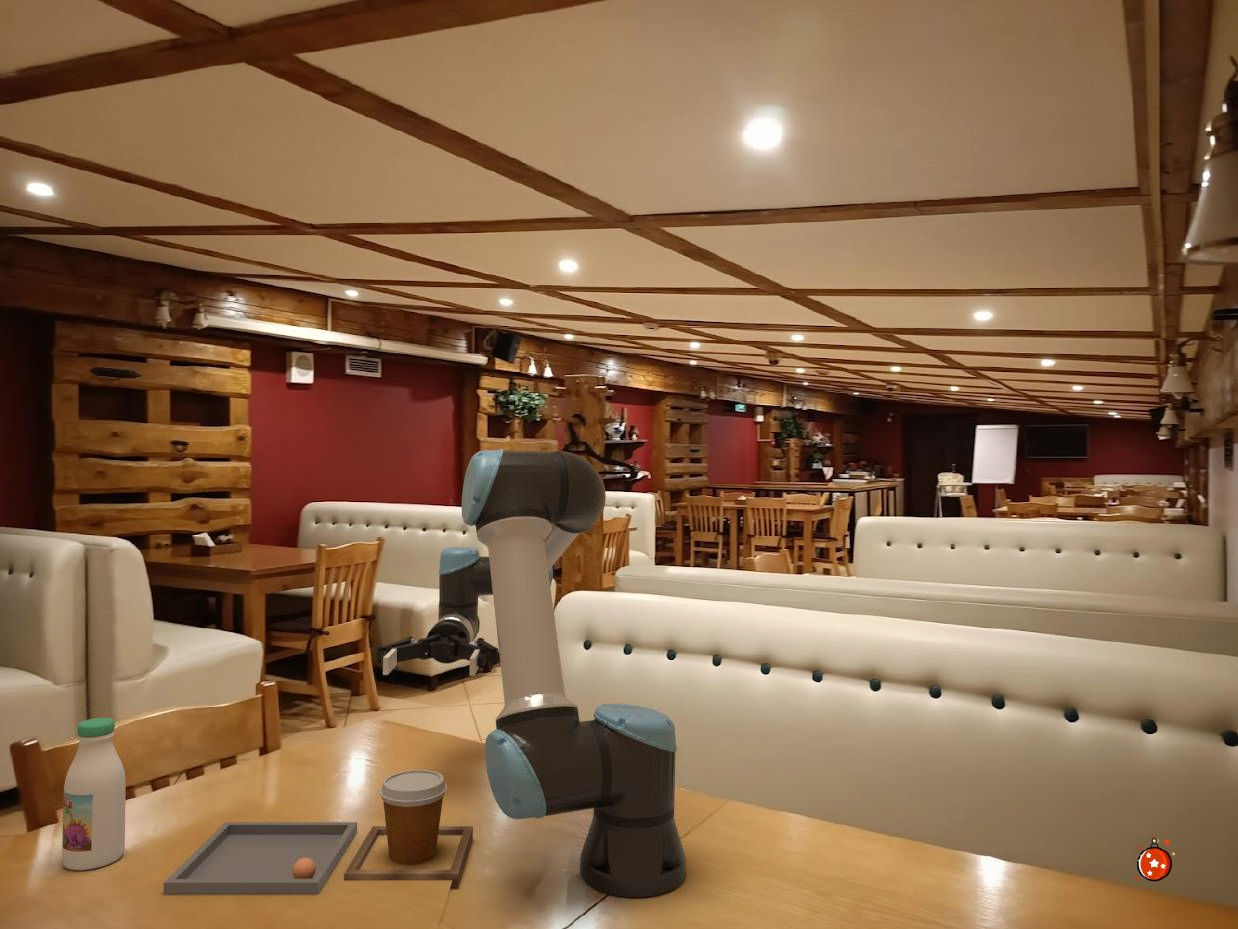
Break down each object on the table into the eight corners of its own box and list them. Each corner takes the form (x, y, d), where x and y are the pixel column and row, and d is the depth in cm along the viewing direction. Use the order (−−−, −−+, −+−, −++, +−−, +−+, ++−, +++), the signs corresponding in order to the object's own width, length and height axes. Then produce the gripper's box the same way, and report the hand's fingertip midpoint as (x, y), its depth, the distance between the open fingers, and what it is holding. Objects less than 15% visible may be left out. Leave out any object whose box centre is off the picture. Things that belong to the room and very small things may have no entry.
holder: (472, 839, 132) (472, 826, 132) (457, 888, 117) (457, 874, 117) (372, 839, 131) (372, 826, 131) (343, 888, 116) (344, 874, 116)
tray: (356, 839, 131) (357, 822, 131) (317, 903, 112) (318, 882, 112) (225, 839, 130) (225, 822, 130) (163, 903, 111) (163, 882, 111)
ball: (318, 875, 117) (318, 853, 117) (311, 886, 114) (311, 864, 114) (296, 875, 117) (296, 853, 117) (288, 886, 114) (289, 864, 114)
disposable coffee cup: (429, 881, 118) (430, 795, 118) (366, 874, 120) (367, 789, 120) (455, 851, 128) (457, 771, 128) (396, 845, 130) (398, 766, 130)
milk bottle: (116, 842, 129) (118, 710, 129) (131, 860, 123) (133, 722, 123) (56, 858, 123) (58, 720, 123) (69, 877, 118) (71, 733, 118)
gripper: (518, 659, 156) (507, 691, 135) (380, 658, 155) (348, 689, 134) (518, 619, 156) (508, 643, 135) (381, 617, 155) (349, 642, 134)
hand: (428, 666), depth 135 cm, fingers open, 13 cm apart
